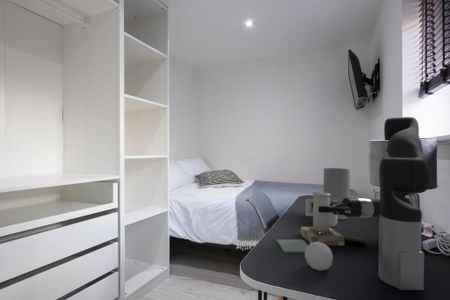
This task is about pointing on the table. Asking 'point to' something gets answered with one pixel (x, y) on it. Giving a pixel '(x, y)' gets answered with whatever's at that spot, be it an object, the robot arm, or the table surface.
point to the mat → (292, 245)
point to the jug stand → (322, 236)
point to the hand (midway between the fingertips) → (315, 207)
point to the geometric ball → (318, 256)
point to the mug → (333, 218)
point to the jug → (319, 219)
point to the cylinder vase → (337, 185)
